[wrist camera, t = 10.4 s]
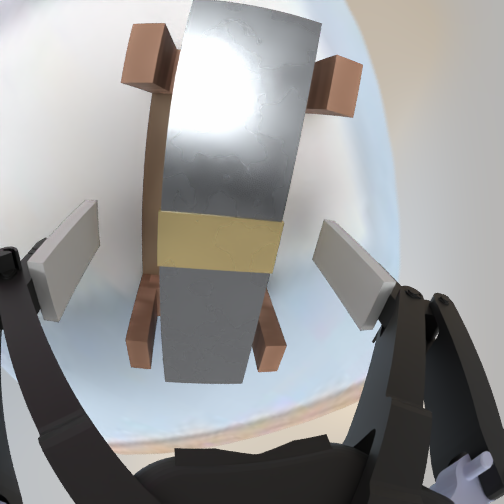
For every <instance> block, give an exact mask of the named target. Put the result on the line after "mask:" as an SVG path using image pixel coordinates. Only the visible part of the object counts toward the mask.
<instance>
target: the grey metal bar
mask: <svg viewBox="0 0 504 504" xmlns="http://www.w3.org/2000/svg"><path fill="white" fill-rule="evenodd" d="M321 25H322V24H321V23H318V22H315V21H312V20H309V19H306V18H302V17H299V16H295V15H292V14H288V13H284V12H280V11H276V10H272V9H267V8H262V7H257V6H252V5H246V4H240V3H233V2H226V1H217V0H193V3H192V6H191V10H190V14H189V18H188V22H187V26H186V30H185V34H184V38H183V43H182V48H181V52H180V57H179V62H178V67H177V73H176V78H175V84H174V90H173V96H172V102H171V109H170V116H169V124H168V132H167V140H166V149H165V159H164V170H163V183H162V197H161V207H160V209H159V212H158V240H157V266H159V284H160V318H161V337H162V351H163V364H164V375H165V382H178V383H204V384H241V383H242V382H243V378H244V374H245V371H246V367H247V363H248V359H249V355H250V351H251V347H252V344H253V340H254V336H255V332H256V328H257V324H258V320H259V316H260V312H261V308H262V304H263V300H264V296H265V291H266V287H267V283H268V279H269V275H270V273H272V272H273V268H274V264H275V260H276V256H277V251H278V247H279V243H280V239H281V235H282V230H283V226H284V222H283V221H282V219H283V214H284V210H285V206H286V201H287V197H288V192H289V187H290V183H291V178H292V174H293V169H294V164H295V160H296V155H297V150H298V145H299V140H300V136H301V131H302V126H303V121H304V116H305V111H306V106H307V101H308V96H309V91H310V85H311V80H312V75H313V70H314V64H315V59H316V53H317V48H318V42H319V37H320V31H321Z"/></svg>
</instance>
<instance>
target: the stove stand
mask: <svg viewBox="0 0 504 504" xmlns="http://www.w3.org/2000/svg"><path fill="white" fill-rule="evenodd" d="M180 52H181V50H177V49H176V46H175V44H174V42H173V40H172V38H171V35H170V33H169V31H168V29H167V26H166V24H165V23H146V24H133V26H132V30H131V34H130V39H129V43H128V47H127V52H126V57H125V62H124V67H123V73H122V79H121V83H123V84H126V85H130V86H133V87H136V88H139V89H142V90H145V91H148V92H151V93H152V99H151V106H150V114H149V122H148V131H147V140H146V151H145V164H144V179H143V202H142V264H143V275H142V278H141V282H140V285H139V289H138V292H137V296H136V300H135V303H134V307H133V311H132V315H131V319H130V323H129V327H128V331H127V335H126V345H127V350H128V355H129V360H130V364H131V367H134V368H144V369H151V362H152V354H153V345H154V338H155V330H156V323H157V316H160V284H159V266H157V240H158V212H159V209H160V207H161V197H162V183H163V170H164V159H165V149H166V140H167V132H168V124H169V116H170V109H171V102H172V96H173V90H174V84H175V78H176V73H177V67H178V62H179V57H180ZM362 68H363V65H362V64H359V63H357V62H355V61H352V60H349V59H347V58H344V57H342V56H339V55H335V56H332V57H329V58H326V59H323V60H320V61H317V62H315V64H314V70H313V75H312V80H311V85H310V91H309V96H308V101H307V106H306V111H305V113H310V114H323V115H334V116H343V117H351V118H353V115H354V111H355V106H356V101H357V95H358V90H359V85H360V79H361V74H362ZM286 346H287V345H286V342H285V339H284V336H283V334H282V331H281V328H280V325H279V322H278V319H277V316H276V314H275V311H274V308H273V305H272V302H271V299H270V296H269V294H268V291H267V288H266V291H265V296H264V300H263V304H262V308H261V312H260V316H259V320H258V324H257V328H256V332H255V336H254V340H253V344H252V348H253V352H254V357H255V361H256V365H257V370H258V372H272V371H277V370H278V367H279V365H280V362H281V359H282V357H283V354H284V352H285V349H286Z"/></svg>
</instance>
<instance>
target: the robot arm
mask: <svg viewBox="0 0 504 504" xmlns="http://www.w3.org/2000/svg"><path fill="white" fill-rule="evenodd" d="M99 246H100V241H99V227H98V206H97V200H85V201H84V202H83V203H82V204H81V205H80V206H79V207H78V208H76V209H75V210H74V211H73V212H72V213H71V214H70V215H69V216H68V217H67V218H66V219H65V220H64V221H63V222H62V223H61V224H60V225H59V227H58V228H57V229H56V230H55V231H54V232H53V233H52V234H51V235H50V236H49V237H48V238H44V239H42V240H41V241H39V242H37V243H36V244H35V246H34V247H33V248H32V249H31V250H30V251H29V252H28V254H27V255H26V256H25V257H24V258H23V259H22V260H21V261H20V257H19V253H18V250H17V248H15V247H4V248H1V249H0V504H23V502H22V497H21V493H20V490H19V486H18V482H17V479H16V475H15V471H14V468H13V463H12V459H11V455H10V451H9V445H8V440H7V434H6V428H5V421H4V413H3V404H2V391H1V334H2V330H4V334H5V338H6V342H7V346H8V350H9V354H10V358H11V361H12V364H13V368H14V371H15V374H16V377H17V380H18V383H19V385H20V388H21V391H22V394H23V396H24V399H25V401H26V404H27V407H28V409H29V411H30V413H31V416H32V418H33V421H34V423H35V425H36V427H37V429H38V432H39V434H40V437H39V438H38V440H39V444H40V446H41V448H42V450H43V452H44V454H45V456H46V458H47V460H48V461H49V463H50V465H51V467H52V468H53V470H54V472H55V473H56V475H57V477H58V478H59V480H60V482H61V483H62V485H63V486H64V488H65V489H66V491H67V492H68V494H69V495H70V497H71V498H72V499H73V501H74V502H75V504H489V503H491V502H493V501H495V500H496V499H498V498H500V497H501V496H503V495H504V429H503V427H502V423H501V420H500V416H499V413H498V409H497V406H496V403H495V400H494V397H493V393H492V390H491V387H490V385H489V382H488V380H487V376H486V374H485V371H484V368H483V366H482V363H481V361H480V359H479V356H478V354H477V352H476V349H475V347H474V344H473V342H472V340H471V338H470V336H469V333H468V331H467V329H466V327H465V325H464V323H463V321H462V319H461V317H460V315H459V313H458V311H457V309H456V307H455V305H454V303H453V302H452V301H451V300H450V299H449V297H448V296H446V295H444V294H440V293H435V294H434V295H433V297H432V299H431V301H429V300H424V298H423V296H422V294H421V293H420V292H419V291H417V290H416V289H414V288H412V287H409V286H401V285H400V284H399V283H398V282H397V281H396V280H395V279H394V278H393V277H392V276H391V275H389V273H388V272H387V271H386V270H385V269H384V268H383V267H382V266H381V265H380V264H379V263H378V262H377V261H376V260H375V259H374V258H373V257H372V256H371V255H370V254H369V253H368V252H367V251H366V250H365V249H364V248H363V247H362V246H361V245H359V244H358V243H357V242H356V241H355V240H354V239H353V238H352V237H351V236H350V235H349V234H348V233H347V232H346V231H345V230H344V229H343V228H342V227H341V226H339V225H338V224H337V223H336V222H335V221H331V220H324V221H323V225H322V228H321V232H320V235H319V239H318V242H317V245H316V249H315V252H314V255H313V259H312V260H313V261H314V262H315V264H316V265H317V267H318V268H319V270H320V271H321V273H322V274H323V275H324V277H325V278H326V280H327V281H328V283H329V284H330V286H331V287H332V289H333V290H334V292H335V293H336V295H337V296H338V298H339V299H340V300H341V302H342V303H343V305H344V307H345V308H346V310H347V311H348V313H349V314H350V316H351V317H352V319H353V320H354V322H355V323H356V325H357V326H358V328H359V329H360V331H362V330H372V329H373V328H374V326H375V324H376V322H377V320H379V321H380V323H381V324H382V325H381V327H380V329H379V330H378V332H377V334H376V336H375V338H374V339H373V341H372V342H373V343H374V342H375V341H376V343H375V347H374V351H373V355H372V359H371V363H370V367H369V370H368V374H367V377H366V381H365V384H364V387H363V391H362V394H361V397H360V400H359V403H358V406H357V409H356V412H355V415H354V418H353V421H352V423H351V426H350V429H349V432H348V434H347V436H346V439H345V440H344V442H343V444H339V443H330V442H329V440H328V437H327V435H326V434H325V435H321V436H316V437H311V438H306V439H300V440H294V441H292V442H289V443H287V444H285V445H282V446H279V447H277V448H274V449H272V450H269V451H266V452H264V453H261V454H246V453H239V452H233V451H226V450H220V449H181V448H174V449H175V457H170V458H165V459H162V460H159V461H156V462H154V463H152V464H149V465H148V466H146V467H144V468H142V469H141V470H140V471H138V472H137V473H136V474H135V475H134V476H133V475H132V474H131V472H130V471H129V470H128V469H127V468H126V466H125V465H124V464H123V463H122V462H121V461H120V459H119V458H118V457H117V455H116V454H115V453H114V452H113V450H112V449H111V448H110V446H109V445H108V444H107V442H106V441H105V440H104V438H103V437H102V436H101V434H100V433H99V431H98V430H97V428H96V427H95V425H94V424H93V423H92V421H91V420H90V418H89V417H88V415H87V414H86V412H85V411H84V409H83V408H82V406H81V404H80V403H79V401H78V399H77V398H76V396H75V394H74V392H73V391H72V389H71V387H70V385H69V384H68V382H67V380H66V378H65V376H64V374H63V372H62V370H61V368H60V366H59V364H58V362H57V360H56V358H55V356H54V354H53V352H52V350H51V347H50V345H49V343H48V341H47V338H46V336H45V334H44V331H43V329H42V326H41V324H40V321H39V319H38V316H37V314H38V312H39V310H40V309H41V312H42V315H43V318H44V320H48V321H53V322H59V321H60V319H61V317H62V315H63V313H64V311H65V308H66V306H67V304H68V302H69V300H70V298H71V296H72V294H73V292H74V291H75V289H76V287H77V285H78V283H79V281H80V279H81V277H82V276H83V274H84V272H85V270H86V268H87V267H88V265H89V263H90V261H91V260H92V258H93V256H94V254H95V253H96V251H97V249H98V248H99ZM438 332H439V333H438ZM437 334H438V336H437V338H436V339H435V337H436V335H437ZM423 401H424V404H425V409H424V408H423ZM429 445H430V455H431V465H432V470H433V475H434V478H435V482H436V483H435V484H433V485H432V486H431V487H430V488H427V487H425V486H423V485H422V483H423V479H424V474H425V469H426V464H427V457H428V451H429Z"/></svg>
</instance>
